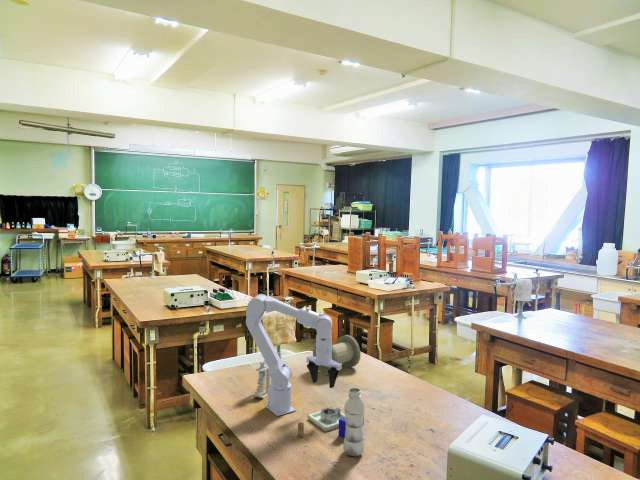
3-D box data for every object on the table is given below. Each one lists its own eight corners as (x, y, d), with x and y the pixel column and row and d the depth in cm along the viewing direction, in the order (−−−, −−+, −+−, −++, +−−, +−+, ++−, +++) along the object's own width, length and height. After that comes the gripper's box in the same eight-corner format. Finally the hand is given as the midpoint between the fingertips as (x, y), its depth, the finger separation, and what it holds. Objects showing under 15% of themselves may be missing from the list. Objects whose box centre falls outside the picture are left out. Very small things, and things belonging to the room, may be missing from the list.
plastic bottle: (362, 447, 140) (363, 385, 139) (365, 459, 133) (366, 395, 132) (342, 447, 140) (343, 385, 138) (344, 459, 133) (345, 395, 132)
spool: (335, 379, 196) (335, 345, 195) (312, 369, 207) (313, 338, 206) (360, 370, 207) (360, 338, 206) (337, 361, 218) (338, 332, 217)
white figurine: (250, 400, 173) (250, 363, 172) (261, 390, 182) (261, 355, 181) (260, 401, 172) (260, 364, 171) (270, 392, 181) (270, 356, 180)
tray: (308, 418, 159) (308, 414, 159) (333, 411, 165) (333, 407, 165) (326, 431, 150) (326, 427, 150) (351, 423, 156) (351, 419, 156)
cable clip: (350, 440, 144) (350, 423, 144) (338, 436, 147) (338, 419, 146) (367, 426, 154) (367, 409, 154) (356, 422, 157) (356, 406, 156)
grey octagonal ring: (317, 418, 158) (317, 410, 158) (334, 413, 162) (334, 405, 162) (327, 425, 153) (327, 416, 153) (343, 419, 157) (344, 411, 157)
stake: (296, 435, 147) (296, 423, 147) (301, 433, 148) (301, 422, 148) (299, 437, 145) (299, 426, 145) (304, 436, 147) (305, 424, 146)
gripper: (301, 347, 163) (301, 383, 164) (334, 355, 155) (333, 393, 156) (312, 343, 169) (312, 377, 170) (345, 350, 161) (344, 386, 162)
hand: (323, 384), depth 163 cm, fingers open, 7 cm apart
